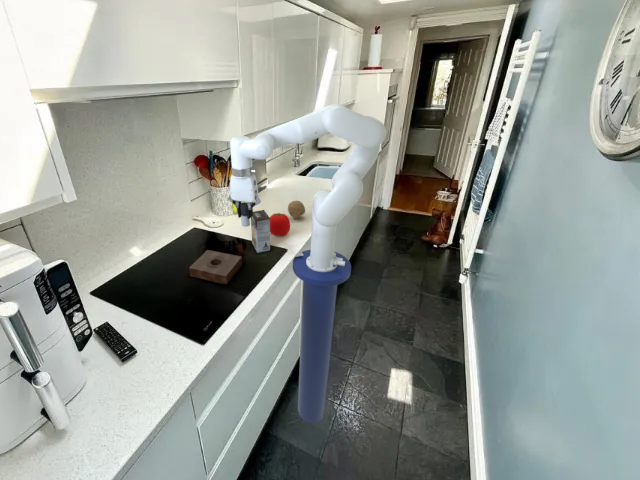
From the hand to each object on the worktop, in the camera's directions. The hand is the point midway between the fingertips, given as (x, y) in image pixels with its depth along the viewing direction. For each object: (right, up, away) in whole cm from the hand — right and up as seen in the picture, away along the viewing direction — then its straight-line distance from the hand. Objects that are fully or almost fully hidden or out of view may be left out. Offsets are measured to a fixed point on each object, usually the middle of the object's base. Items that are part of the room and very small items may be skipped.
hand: (245, 216), depth 121 cm
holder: (-12, -22, +3) cm, 25 cm away
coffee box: (+6, -13, +18) cm, 23 cm away
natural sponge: (+26, 0, +44) cm, 51 cm away
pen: (0, -3, +2) cm, 4 cm away
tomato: (+15, -8, +28) cm, 33 cm away
